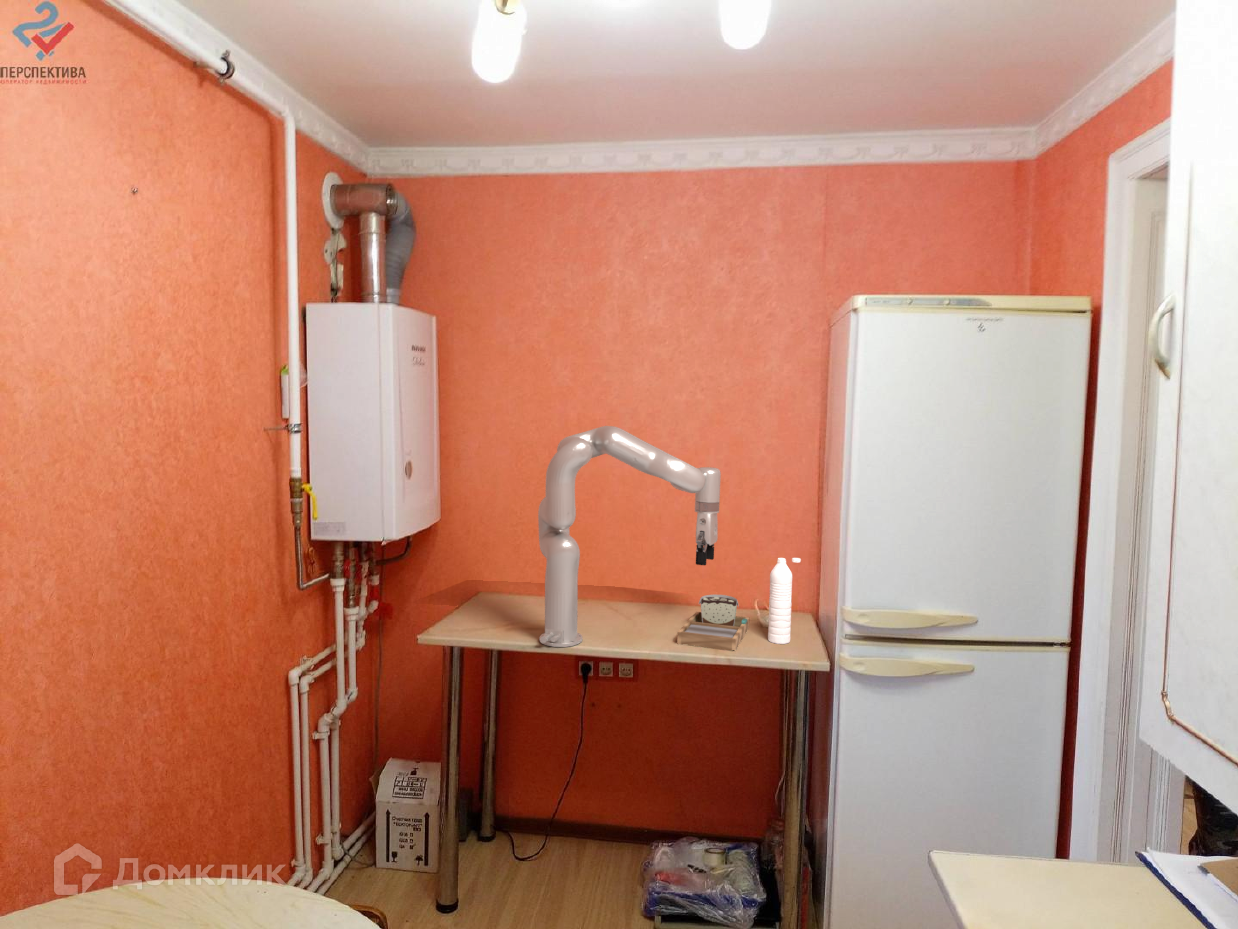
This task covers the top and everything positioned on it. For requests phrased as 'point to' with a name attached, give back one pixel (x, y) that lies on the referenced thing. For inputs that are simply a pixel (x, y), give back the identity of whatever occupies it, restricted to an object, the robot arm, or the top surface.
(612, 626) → the top surface
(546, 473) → the robot arm
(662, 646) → the top surface
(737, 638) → the compartment tray
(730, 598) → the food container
